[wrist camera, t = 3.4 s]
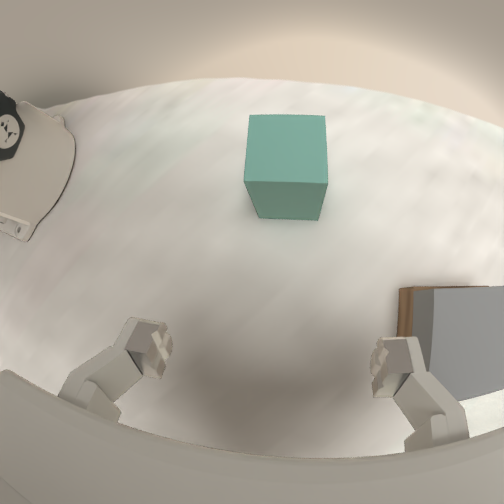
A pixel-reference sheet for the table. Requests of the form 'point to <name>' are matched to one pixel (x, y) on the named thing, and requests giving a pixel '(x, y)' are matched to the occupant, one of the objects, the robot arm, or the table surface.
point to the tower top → (462, 338)
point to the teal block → (286, 165)
